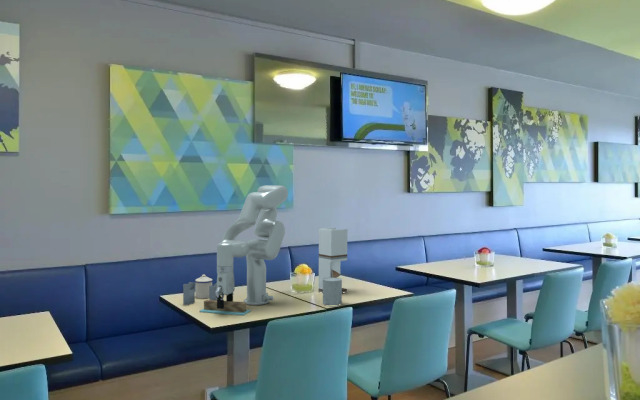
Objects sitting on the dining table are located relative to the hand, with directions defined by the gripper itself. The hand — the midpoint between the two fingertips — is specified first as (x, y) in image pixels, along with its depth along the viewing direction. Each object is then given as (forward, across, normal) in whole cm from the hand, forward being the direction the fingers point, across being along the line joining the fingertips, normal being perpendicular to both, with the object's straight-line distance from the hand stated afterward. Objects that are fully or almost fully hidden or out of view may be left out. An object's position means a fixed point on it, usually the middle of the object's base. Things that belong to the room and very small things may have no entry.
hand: (225, 306), depth 234 cm
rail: (+2, 0, 0) cm, 2 cm away
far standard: (+3, +10, +24) cm, 26 cm away
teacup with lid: (+3, +26, +25) cm, 36 cm away
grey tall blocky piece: (+3, +55, -38) cm, 67 cm away
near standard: (+3, +10, +10) cm, 14 cm away
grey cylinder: (+3, +29, -44) cm, 53 cm away
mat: (+3, 0, 0) cm, 3 cm away
